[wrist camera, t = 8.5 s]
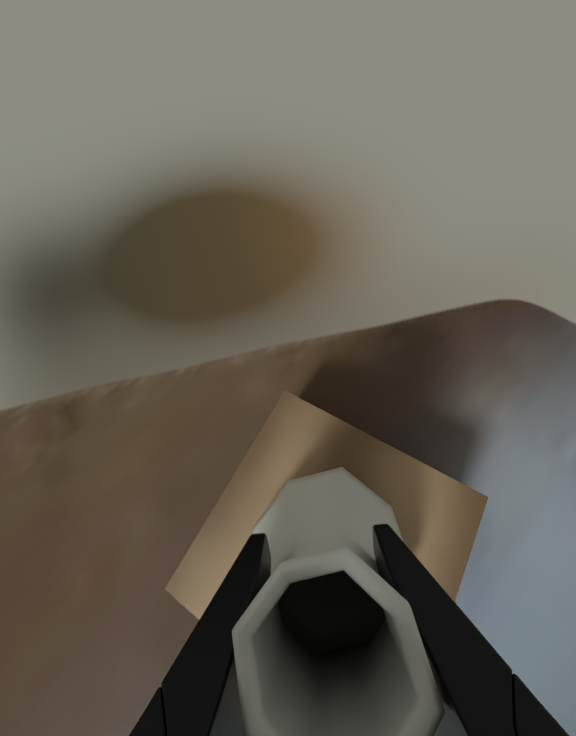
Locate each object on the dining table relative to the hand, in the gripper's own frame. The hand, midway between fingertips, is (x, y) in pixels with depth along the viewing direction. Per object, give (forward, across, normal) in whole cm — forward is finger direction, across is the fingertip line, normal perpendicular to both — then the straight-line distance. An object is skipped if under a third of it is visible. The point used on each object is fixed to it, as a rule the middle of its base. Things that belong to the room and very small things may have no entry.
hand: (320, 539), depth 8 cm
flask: (+4, 0, +6) cm, 7 cm away
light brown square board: (+8, 0, +9) cm, 12 cm away
